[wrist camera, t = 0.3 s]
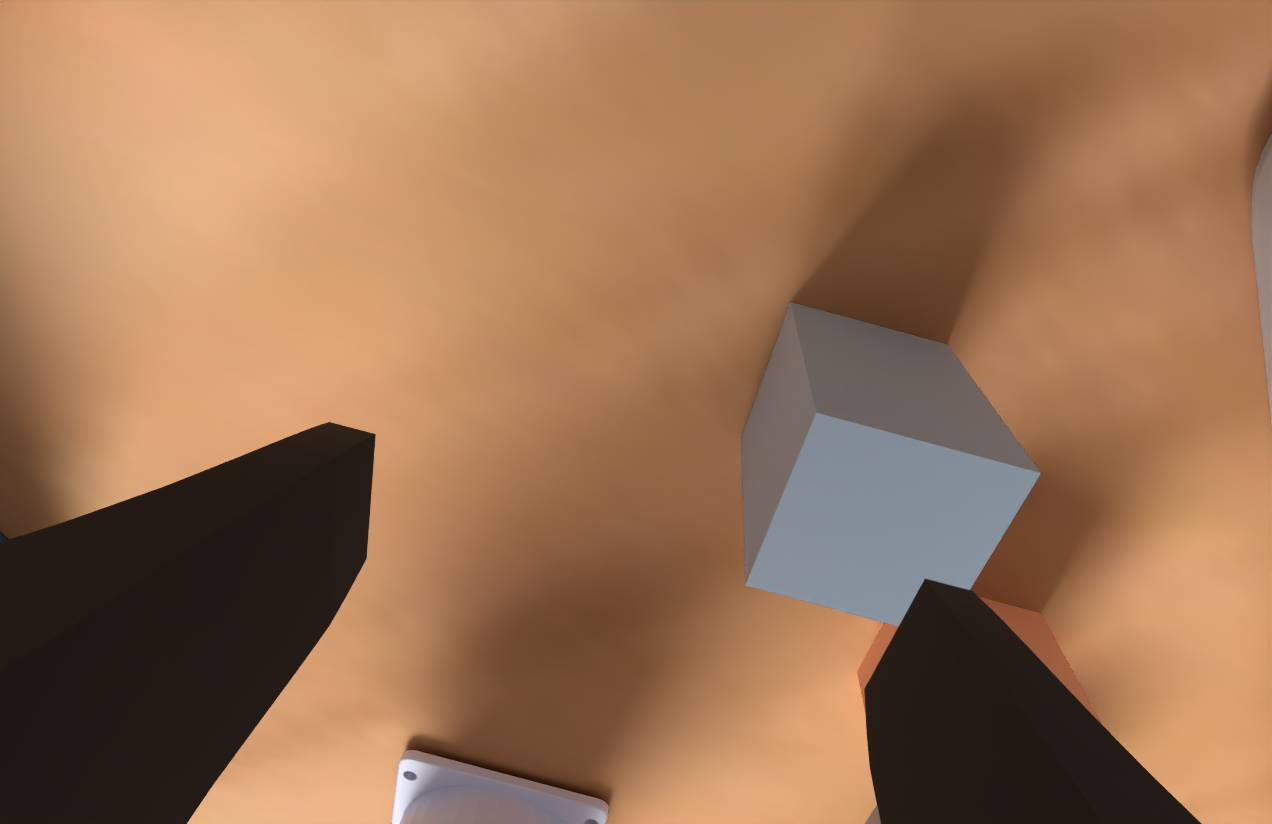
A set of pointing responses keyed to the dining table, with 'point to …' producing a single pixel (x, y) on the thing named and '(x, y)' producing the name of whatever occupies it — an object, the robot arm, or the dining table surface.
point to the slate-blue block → (872, 468)
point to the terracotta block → (1023, 625)
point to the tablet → (1264, 251)
